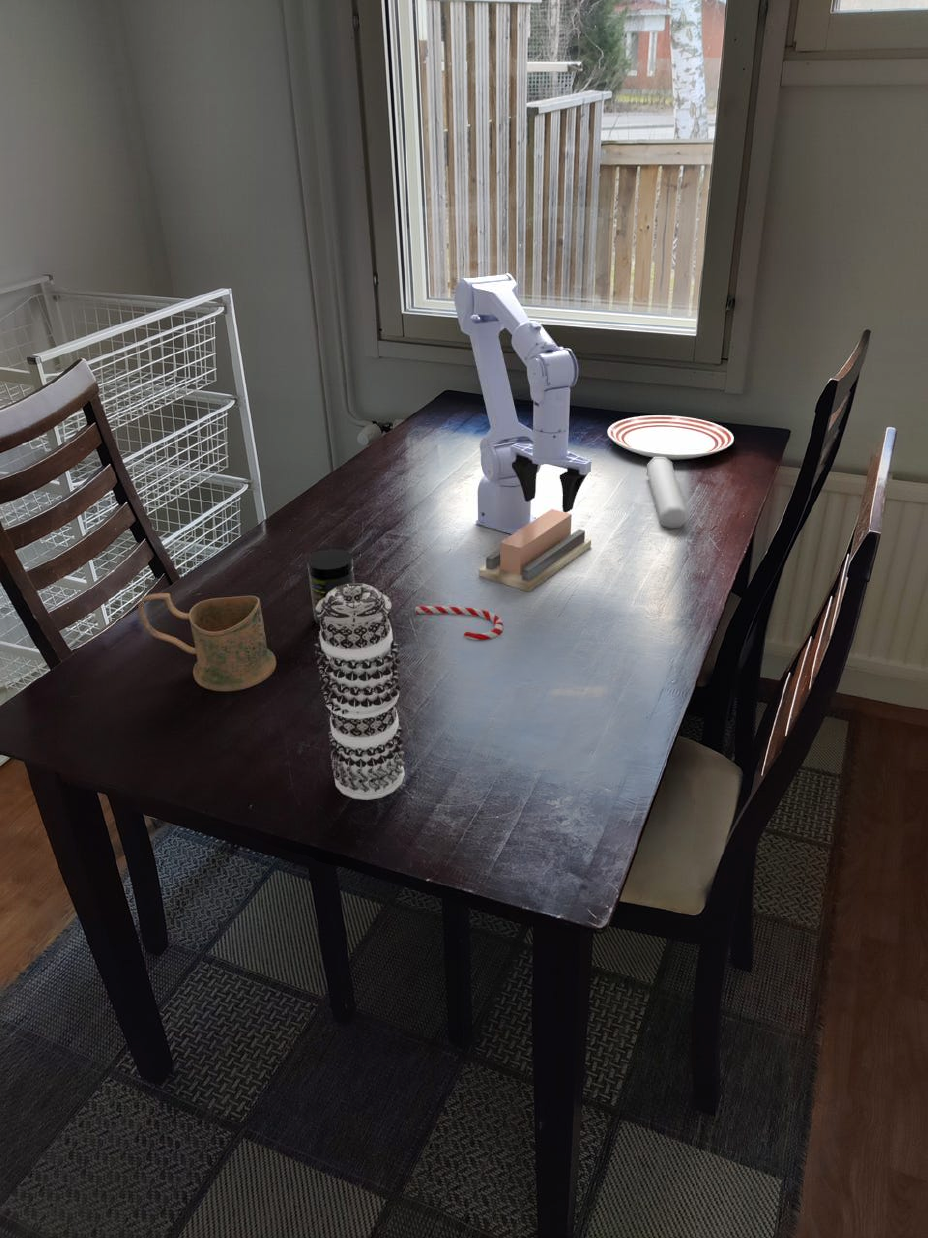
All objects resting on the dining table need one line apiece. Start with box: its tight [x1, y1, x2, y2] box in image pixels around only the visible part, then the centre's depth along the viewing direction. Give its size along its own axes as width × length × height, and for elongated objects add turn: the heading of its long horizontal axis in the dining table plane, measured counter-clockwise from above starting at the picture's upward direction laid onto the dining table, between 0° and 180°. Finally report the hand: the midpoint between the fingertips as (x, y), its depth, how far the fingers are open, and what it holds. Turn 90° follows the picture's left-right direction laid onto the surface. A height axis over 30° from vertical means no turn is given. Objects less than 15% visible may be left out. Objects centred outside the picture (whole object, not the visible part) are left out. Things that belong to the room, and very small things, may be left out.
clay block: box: [499, 508, 573, 575], centre depth 156 cm, size 4×16×5 cm, turn 144°
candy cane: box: [414, 605, 504, 641], centre depth 141 cm, size 8×1×15 cm
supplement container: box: [306, 548, 355, 626], centre depth 140 cm, size 7×7×10 cm
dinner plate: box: [607, 414, 735, 461], centre depth 204 cm, size 27×27×3 cm
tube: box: [645, 457, 688, 530], centre depth 177 cm, size 5×5×25 cm
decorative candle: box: [314, 582, 406, 801], centre depth 104 cm, size 9×9×25 cm
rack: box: [478, 528, 592, 592], centre depth 157 cm, size 10×20×3 cm, turn 143°
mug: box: [138, 592, 277, 692], centre depth 128 cm, size 12×18×12 cm, turn 88°
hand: (548, 504), depth 155 cm, fingers open, 7 cm apart
